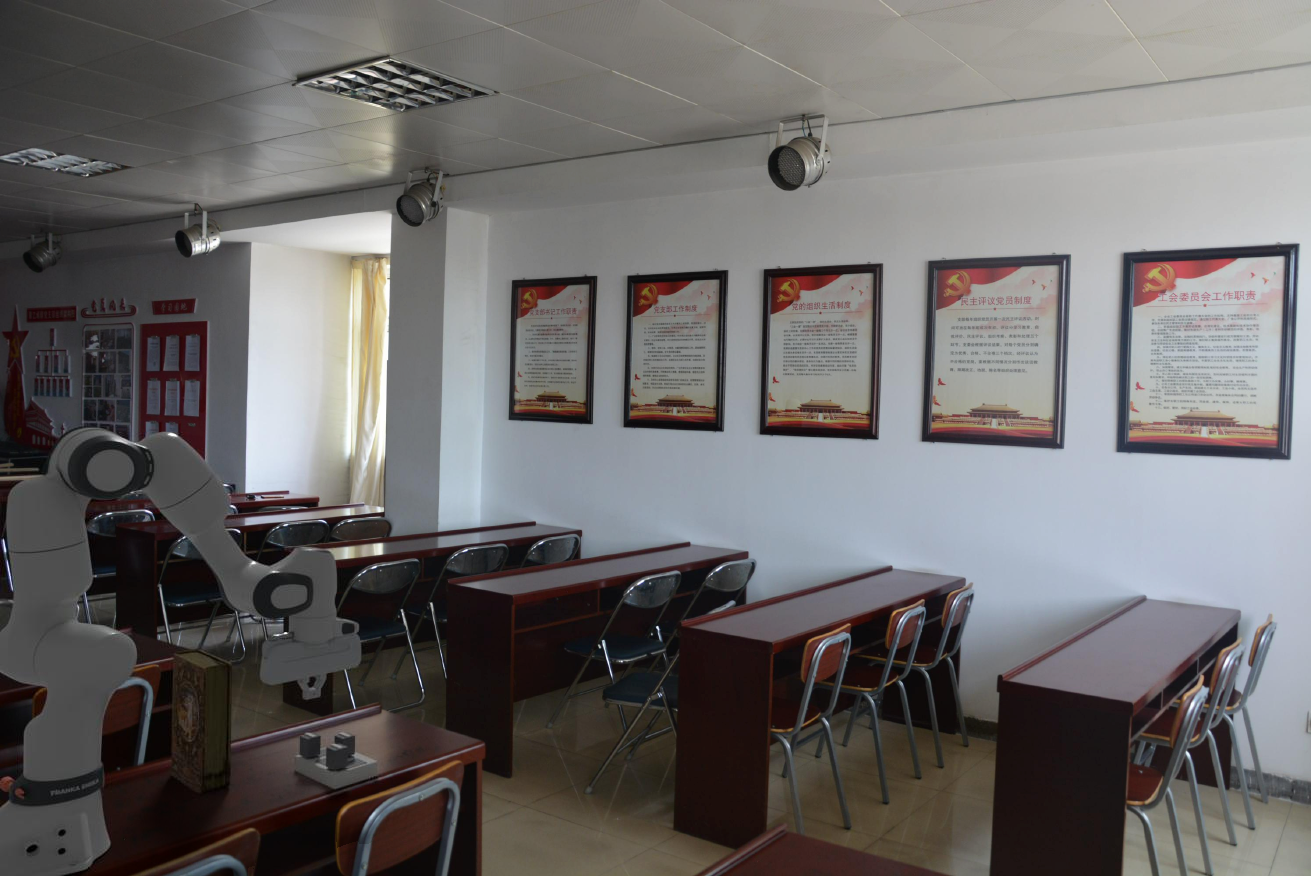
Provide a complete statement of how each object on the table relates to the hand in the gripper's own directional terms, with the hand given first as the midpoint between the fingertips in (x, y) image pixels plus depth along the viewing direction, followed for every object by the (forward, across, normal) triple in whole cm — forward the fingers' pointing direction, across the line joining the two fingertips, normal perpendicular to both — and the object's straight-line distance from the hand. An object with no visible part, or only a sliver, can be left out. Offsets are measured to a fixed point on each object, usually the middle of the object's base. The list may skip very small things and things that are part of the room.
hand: (311, 697), depth 188 cm
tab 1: (+15, +6, +10) cm, 19 cm away
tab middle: (+15, +11, +5) cm, 19 cm away
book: (+19, -12, +21) cm, 31 cm away
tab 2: (+15, +6, 0) cm, 16 cm away
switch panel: (+19, +9, +5) cm, 21 cm away
